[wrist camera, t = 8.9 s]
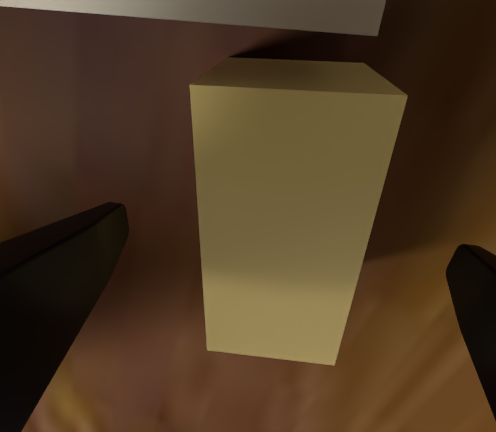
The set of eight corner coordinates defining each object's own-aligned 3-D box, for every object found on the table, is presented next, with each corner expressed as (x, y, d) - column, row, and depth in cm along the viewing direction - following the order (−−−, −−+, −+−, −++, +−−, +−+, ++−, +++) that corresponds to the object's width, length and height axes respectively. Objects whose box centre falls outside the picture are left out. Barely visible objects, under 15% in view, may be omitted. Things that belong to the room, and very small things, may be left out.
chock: (230, 259, 14) (206, 350, 10) (228, 56, 10) (189, 84, 6) (323, 268, 14) (334, 365, 10) (363, 62, 10) (408, 95, 6)
